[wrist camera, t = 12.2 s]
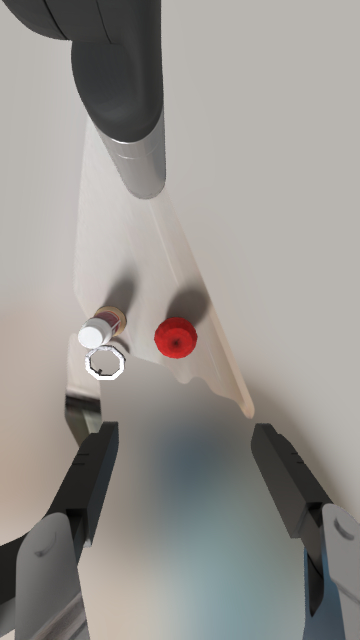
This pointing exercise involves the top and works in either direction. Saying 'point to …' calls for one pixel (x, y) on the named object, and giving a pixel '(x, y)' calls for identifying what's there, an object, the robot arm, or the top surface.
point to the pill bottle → (99, 329)
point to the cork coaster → (119, 313)
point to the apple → (175, 337)
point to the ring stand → (98, 374)
